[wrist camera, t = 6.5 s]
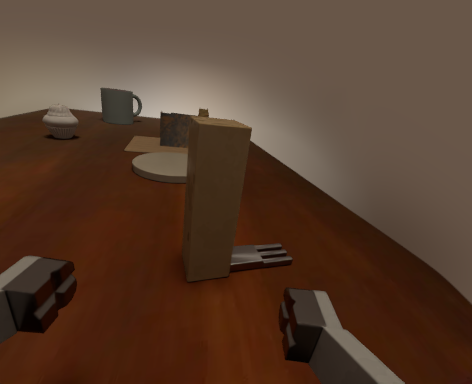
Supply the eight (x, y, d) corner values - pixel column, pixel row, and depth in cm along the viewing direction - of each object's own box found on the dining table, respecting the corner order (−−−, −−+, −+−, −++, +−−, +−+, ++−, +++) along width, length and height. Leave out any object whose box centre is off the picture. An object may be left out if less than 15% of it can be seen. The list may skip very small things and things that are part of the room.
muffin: (47, 140, 48) (41, 104, 45) (44, 134, 52) (38, 100, 49) (82, 140, 52) (79, 106, 49) (77, 134, 56) (73, 103, 53)
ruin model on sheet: (225, 143, 70) (229, 109, 66) (239, 159, 55) (245, 116, 52) (135, 135, 63) (134, 97, 59) (123, 150, 49) (121, 100, 45)
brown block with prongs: (187, 282, 18) (198, 122, 14) (181, 254, 21) (189, 115, 16) (294, 267, 22) (332, 135, 17) (276, 245, 24) (305, 127, 20)
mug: (113, 124, 73) (111, 90, 70) (97, 119, 78) (94, 86, 74) (150, 123, 84) (150, 94, 81) (133, 119, 89) (133, 90, 85)
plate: (222, 183, 39) (223, 176, 38) (129, 182, 34) (129, 175, 34) (204, 159, 51) (205, 154, 50) (134, 156, 46) (134, 150, 46)
